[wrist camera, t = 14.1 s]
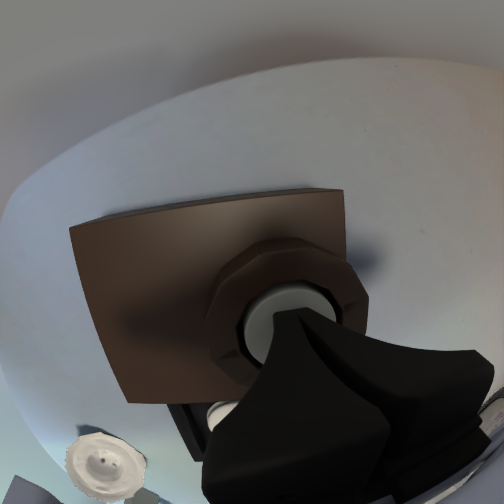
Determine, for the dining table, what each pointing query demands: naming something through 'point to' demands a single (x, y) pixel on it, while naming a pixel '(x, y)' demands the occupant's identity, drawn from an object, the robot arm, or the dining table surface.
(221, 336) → the brown push button box
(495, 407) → the paper bowls
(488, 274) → the dining table surface
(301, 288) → the button
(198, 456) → the pan
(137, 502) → the lighter
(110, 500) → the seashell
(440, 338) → the dining table surface
